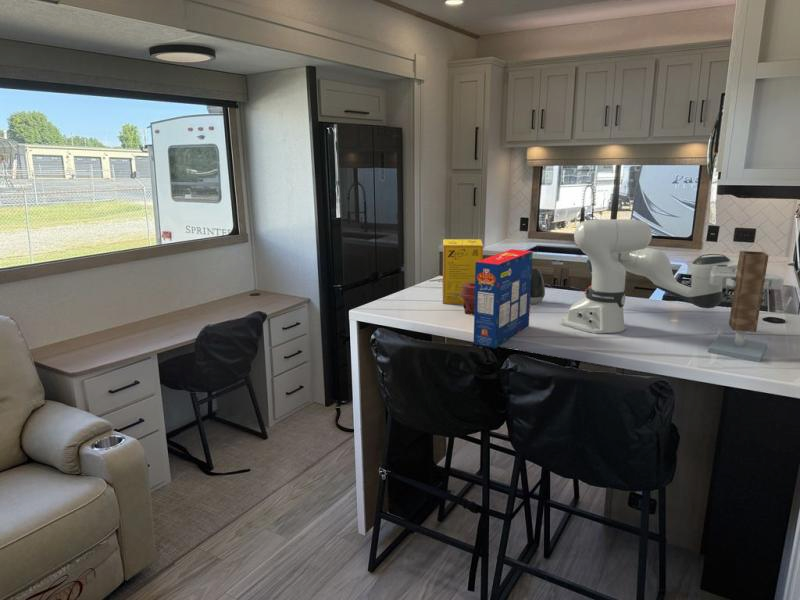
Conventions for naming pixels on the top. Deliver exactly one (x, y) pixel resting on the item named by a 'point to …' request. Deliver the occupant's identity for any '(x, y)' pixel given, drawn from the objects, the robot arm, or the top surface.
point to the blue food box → (502, 297)
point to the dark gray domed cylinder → (536, 286)
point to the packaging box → (459, 266)
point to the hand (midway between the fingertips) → (749, 285)
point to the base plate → (738, 347)
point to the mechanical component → (468, 297)
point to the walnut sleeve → (748, 290)
